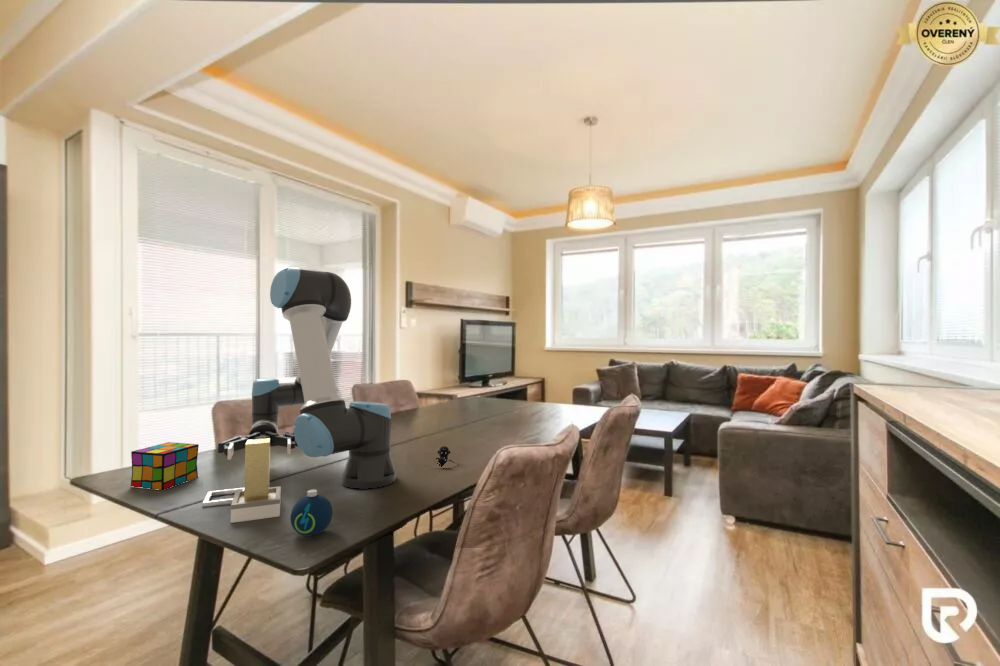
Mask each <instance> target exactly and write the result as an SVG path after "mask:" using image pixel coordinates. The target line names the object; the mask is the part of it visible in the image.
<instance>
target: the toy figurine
mask: <svg viewBox="0 0 1000 666" xmlns="http://www.w3.org/2000/svg"><path fill="white" fill-rule="evenodd" d="M437 454H438V455H439V457H435V460H437V461H438V462H439V463H440V464H439V466H441V467H442V466H443V465H444V464H445V463H446V462H447V461H451V462H452V460H451V459H449V460H448V456H449V454H451V451H450V449H449V447H448V446H446V445H445V446H444V445H442V446H441V447H440V448H439V450H438V451H437ZM437 464H438V463H437Z"/></svg>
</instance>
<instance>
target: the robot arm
mask: <svg viewBox="0 0 1000 666" xmlns="http://www.w3.org/2000/svg"><path fill="white" fill-rule="evenodd" d="M269 290H270V292H269V298H270V303H271V304H272V305H273V306H274V307H275V308H276V309H281V314H282V317H283V318H284V319H285V320H287V321H288V322H289V324H290V330H291V334H292V335H291V336H292V340H293V347H294V352H295V357H296V363H297V368H298V372H297V375H296V377H295V380H294V382H289V383H288V382H287V383H280V380H279V378H273V377H272V378H270V377H269V378H266V377H265V378H257V379H255V380H253V383H252V388H251V389H252V390H251V427H250V430H249V434H248V435H246V436H245V437H242V436H241V435H240V434H237V435H235V436H234V437H232V438H229V439H225V440H224V441H221V442H218V443H217V453H218V454H222V453H223V454H224V455H225V457H227V460H229V461H230V460H232V458H233V455H234V452H237V451H240V450H243V449H245V444H246V442H247V440H250V439H265V438H270V448H271V447H272V448H273V447H278V446H279V447H283V448H287V450H286V451H287V455H291V454H292V453H291V451H292V450H293V449H296V447H298V448H299V450H300V452H302V453H303V454H305V455H306V456H307V457H310V458H320V457H328V456H331V455H334V454H339V453H344V452H347V451H348V457H347V461H346V463H345V466H344V469H343V471H342V476H341V484H342V486H344V487H345V488H348V487H350V488H349V489H353V488H359V489H358V490H369V489H368V488H373V489H378V488H377V487H380V488H382V486H384V487H386V486H385V485H387V486H389V485H388V484H390V485H392V484H393V483H394V482H395V481H396V479H397V478H396V477H397V473H396V472H397V471H396V469H395V465H394V462H393V460H392V457H391V425H392V423H391V420H392V416H391V407H390V406H389V405H388V404H386V403H381V402H373V401H371V402H370V401H360V400H359V401H358V400H357V401H351V402H350V403H349V405H348V407H347V405H346V402H345V399H343V398H342V397H340V396H339V395H338V392H337V386H336V380H335V376H334V372H333V367H332V365H333V364H332V360H331V354H332V350H333V349H334V345H335V343H336V341H337V338H338V335H339V333H340V330H341V327H342V324H343V323H344V322H346V321H347V320H348V318H349V316H350V313H351V308H352V295H351V291H350V288H349V286H348V284H347V283H346V281H345V280H344V279H343V278H342V277H341V276H339V275H338V274H336V273H334V272H331V271H322V270H314V269H306V268H305V269H304V268H299V267H297V266H296V267H291V266H290V267H289V266H287V267H282V268H280V269H279V270H278V271H277V272H276V273H275V275H274V277H273V279H272V282H271V285H270V289H269ZM291 406H301V407H300V408H299V413H300V414H299V415H298V416H297V417H296V418H295V420H294V423H293V425H294V427H293V434H292V433H290V432H288V431H286V432H283V433H282V434H281V435H280V434H279V433H278V431H279V408H282V407H291ZM346 407H347V408H346ZM392 482H393V483H392ZM391 483H392V484H391Z"/></svg>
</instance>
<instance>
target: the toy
mask: <svg viewBox="0 0 1000 666" xmlns="http://www.w3.org/2000/svg"><path fill="white" fill-rule="evenodd" d="M130 454H131V455H130V456H131V479H130V480H131V481H130V487H131V486H134V487H143V488H150V489H159V490H164V489H166V490H168V489H167V488H169V489H171V488H170V487H172V486H175V485H177V486H179V485H178V484H180V485H182V484H181V483H183V482H186V481H189V480H191V481H193V480H192V479H194V480H196V479H195V478H197V479H199V473H198V472H199V471H198V454H199V443H196V444H195V443H186V442H184V443H183V442H171V441H169V442H168V441H167V442H164V443H160V444H156V445H152V446H148V447H145V448H141V449H136V450H131V451H130ZM189 482H190V481H189ZM186 483H187V482H186ZM183 484H184V483H183ZM175 487H176V486H175ZM172 488H173V487H172ZM159 490H158V491H159ZM164 491H165V490H164Z"/></svg>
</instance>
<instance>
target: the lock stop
mask: <svg viewBox="0 0 1000 666" xmlns="http://www.w3.org/2000/svg"><path fill="white" fill-rule="evenodd" d="M244 449H245V450H244V452H245V453H244V488H245V489H244V502H250V501H258V500H267V499H269V487H270V479H271V477H270V474H271V473H270V472H271V467H270V466H271V447H270V438H265V439H250V440H247V442H246V444H245V448H244Z"/></svg>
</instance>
